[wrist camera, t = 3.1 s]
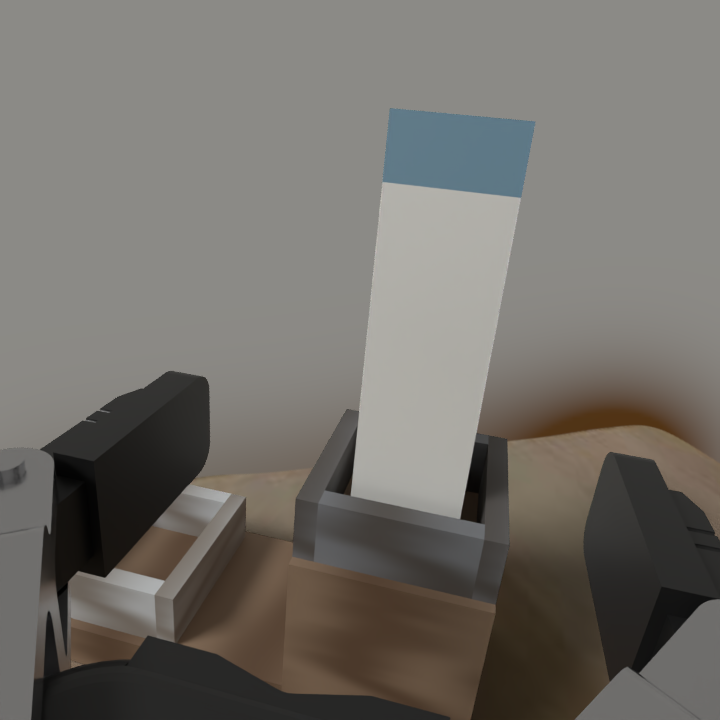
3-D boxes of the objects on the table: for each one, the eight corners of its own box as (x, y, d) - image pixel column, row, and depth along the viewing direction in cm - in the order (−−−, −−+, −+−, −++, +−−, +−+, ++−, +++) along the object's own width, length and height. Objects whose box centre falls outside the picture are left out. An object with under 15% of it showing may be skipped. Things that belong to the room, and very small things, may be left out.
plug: (459, 500, 25) (528, 125, 19) (451, 562, 21) (535, 121, 16) (368, 481, 26) (410, 113, 20) (346, 538, 22) (389, 108, 16)
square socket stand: (468, 615, 29) (507, 434, 25) (458, 772, 22) (509, 553, 18) (106, 527, 33) (90, 357, 29) (-6, 638, 26) (-47, 430, 22)
